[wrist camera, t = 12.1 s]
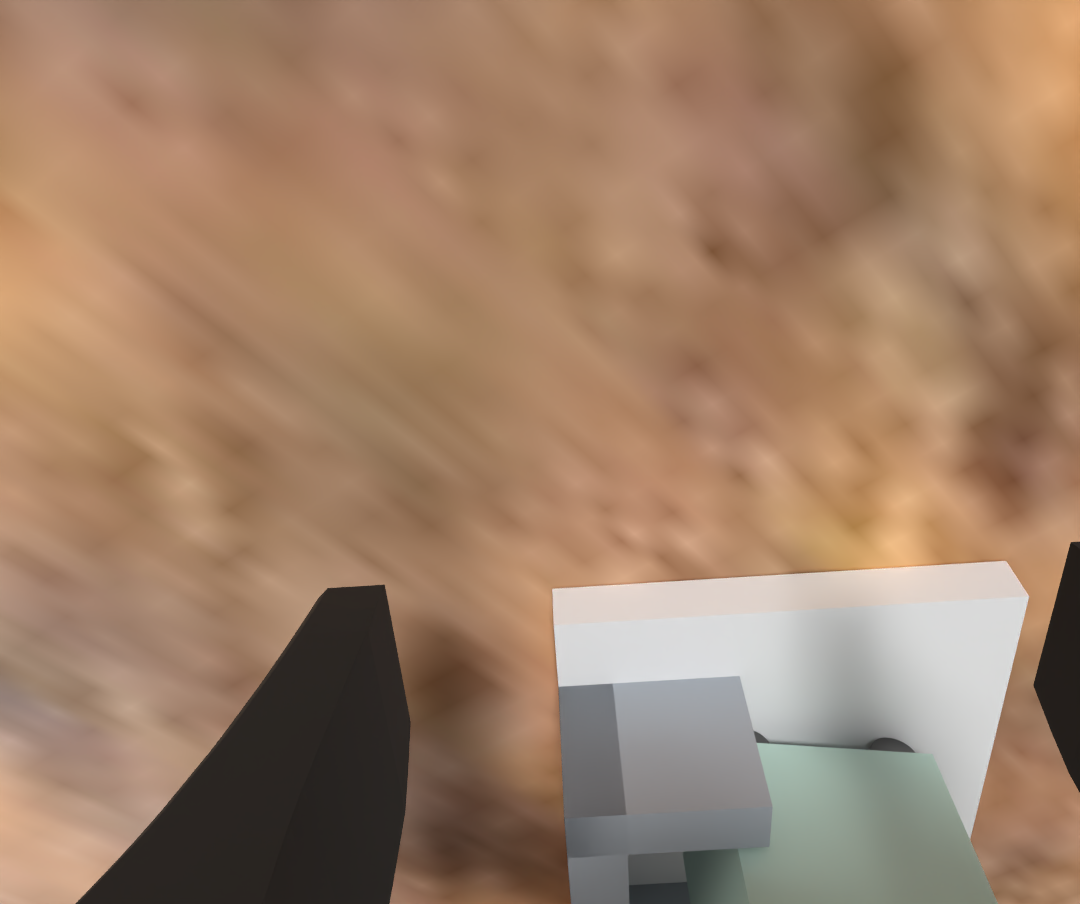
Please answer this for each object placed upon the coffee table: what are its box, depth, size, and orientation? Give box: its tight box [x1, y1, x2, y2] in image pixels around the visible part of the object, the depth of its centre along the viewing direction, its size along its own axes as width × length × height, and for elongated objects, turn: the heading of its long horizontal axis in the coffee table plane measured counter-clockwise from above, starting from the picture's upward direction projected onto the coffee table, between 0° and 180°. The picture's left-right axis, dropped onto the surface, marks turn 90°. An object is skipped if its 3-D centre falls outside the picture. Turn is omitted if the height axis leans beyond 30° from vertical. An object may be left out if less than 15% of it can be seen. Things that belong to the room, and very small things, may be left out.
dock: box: [552, 561, 1029, 904], centre depth 24 cm, size 10×12×5 cm
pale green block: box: [683, 731, 998, 904], centre depth 22 cm, size 5×4×5 cm
